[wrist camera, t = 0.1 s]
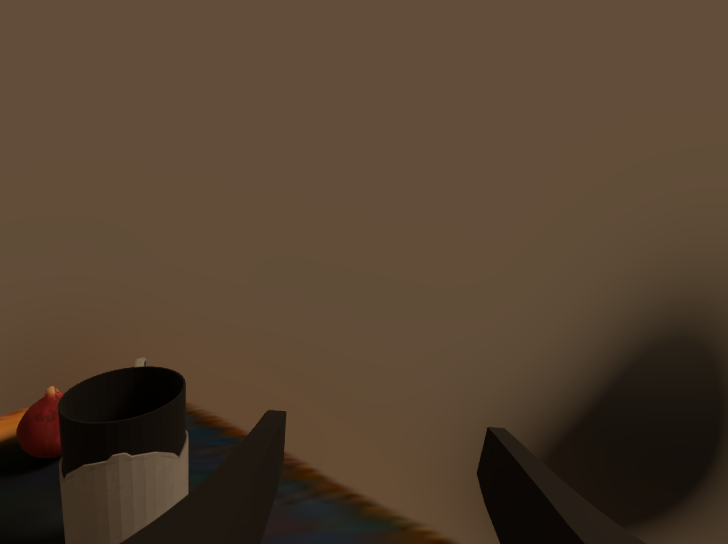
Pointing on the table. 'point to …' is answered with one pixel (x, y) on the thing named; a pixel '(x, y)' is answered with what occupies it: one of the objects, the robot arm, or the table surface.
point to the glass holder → (122, 452)
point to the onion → (41, 427)
